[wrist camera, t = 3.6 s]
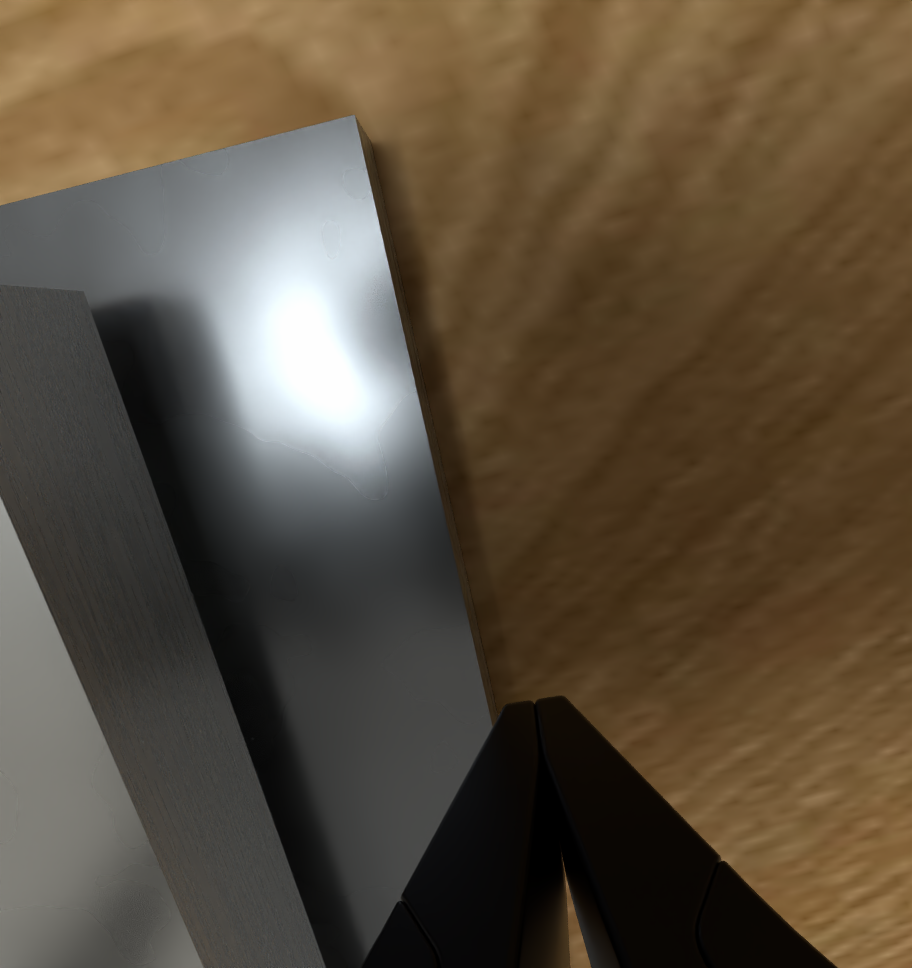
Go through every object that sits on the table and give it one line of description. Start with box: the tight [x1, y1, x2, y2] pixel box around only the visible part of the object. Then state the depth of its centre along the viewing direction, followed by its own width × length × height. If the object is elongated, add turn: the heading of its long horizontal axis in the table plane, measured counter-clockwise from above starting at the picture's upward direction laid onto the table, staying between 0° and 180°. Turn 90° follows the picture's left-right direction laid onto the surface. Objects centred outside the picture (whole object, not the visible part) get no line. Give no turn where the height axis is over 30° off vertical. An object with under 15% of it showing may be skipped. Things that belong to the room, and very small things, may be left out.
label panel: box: [0, 115, 498, 968], centre depth 12 cm, size 23×16×1 cm
